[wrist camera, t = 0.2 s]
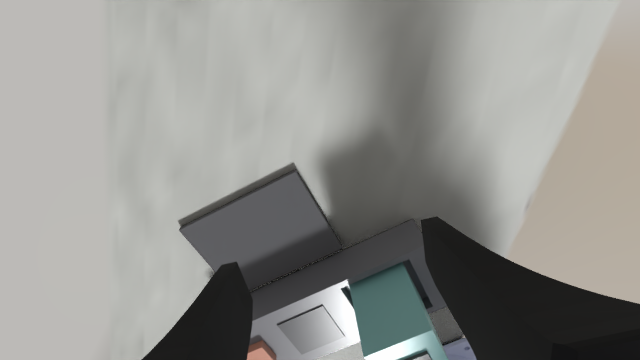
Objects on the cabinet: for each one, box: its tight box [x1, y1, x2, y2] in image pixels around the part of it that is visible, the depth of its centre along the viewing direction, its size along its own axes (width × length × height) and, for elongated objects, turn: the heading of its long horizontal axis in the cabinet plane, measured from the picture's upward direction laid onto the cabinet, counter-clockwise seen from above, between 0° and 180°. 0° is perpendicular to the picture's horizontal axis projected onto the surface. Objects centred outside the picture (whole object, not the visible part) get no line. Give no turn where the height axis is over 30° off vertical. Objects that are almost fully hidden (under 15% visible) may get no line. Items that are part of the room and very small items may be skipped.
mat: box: [179, 169, 342, 291], centre depth 24 cm, size 7×9×1 cm
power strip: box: [247, 219, 447, 360], centre depth 25 cm, size 16×6×4 cm, turn 117°
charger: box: [349, 262, 449, 360], centre depth 22 cm, size 4×4×6 cm
